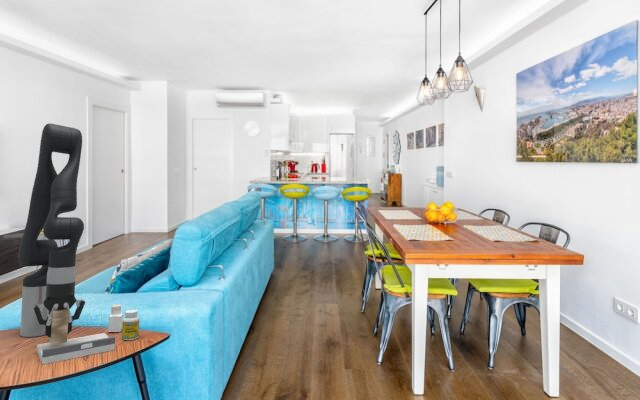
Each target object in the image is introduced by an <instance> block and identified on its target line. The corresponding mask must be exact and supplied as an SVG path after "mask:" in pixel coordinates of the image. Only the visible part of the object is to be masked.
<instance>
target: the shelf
mask: <svg viewBox="0 0 640 400" xmlns="http://www.w3.org/2000/svg"><path fill="white" fill-rule="evenodd" d="M115 348H116V337H115V336H108V335H107V334H106V332H102V333H97V334H91V335H85V336H84V335H83V336H80V337H74V338H67V342H66V343H60V344H54V345H51V343H50V342H45V343H40V344H36V352H37V355H38V358H39V360H40V362H41V365H47V364H52V363H57V362H62V361H67V360H71V359H72V360H73V359H78V358H82V357H85V356H87V357H88V356H92V355H96V354H100V353H101V354H102V353H105V352H110V351H115V350H116V349H115Z"/></svg>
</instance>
